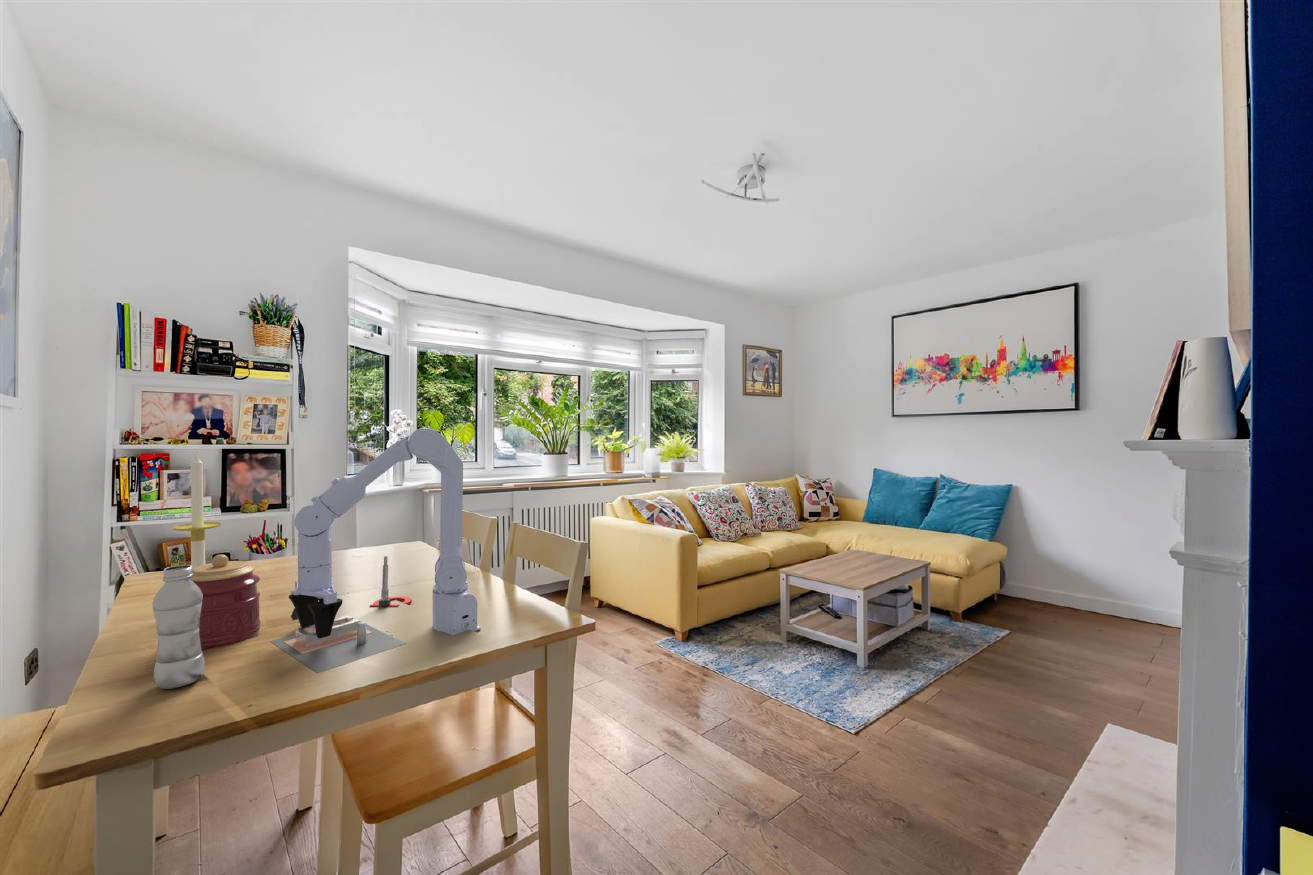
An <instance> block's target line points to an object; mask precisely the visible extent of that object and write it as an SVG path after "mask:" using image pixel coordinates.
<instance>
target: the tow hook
mask: <svg viewBox="0 0 1313 875" xmlns="http://www.w3.org/2000/svg"><path fill="white" fill-rule="evenodd" d="M388 560H389V559H388V556H387V555H385V556H383V565H382V580H381V581H382V584H381V586H382V588H381V591H380V592H381V594H380V596H381V597H380V598H379V599H377V600H375V601H374V602H373V603H372V604H369V608H379V609H380V608H386V609H387V608H399V607H400V604H391V602H393V601H397V602H401V603H402V604H405V605H408V606H409V605H411V604H412V602H413V601H412V600H413V599H412V598H411V597H408V596H391V597H389V590H390V589H389V587H388V586H389V564H388Z"/></svg>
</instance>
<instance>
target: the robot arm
mask: <svg viewBox="0 0 1313 875" xmlns="http://www.w3.org/2000/svg"><path fill="white" fill-rule="evenodd" d="M414 456H415V457H416V458H419V459H421V460H423V461H426V462H428V463H429V464H430V465H431V466H433V467H434V468H435V469H436V470H438V471H439V472H440V511H439V512H440V516H439V517H440V518H439V519H440V522H439V523H440V526H439V557H438V559H436V560H437V561H436V562H435V565H434V572H435V573H434V582H435V584H434V585H433V587H432V629H433V630H435V631H437V632H443V633H446V634H448V635H451V636H456V635H458V634H461V633H464V632H466V631H472V632H476V631H480V630H481V629H482V627H481V626H480V625H479V624H478V600H477V598H476V597H475V595H474V594H472V593H471V592H470V590H469V582H467V579H468V574H467V570H466V563H465V560H464V558H463V505H464V504H463V502H464V501H463V498H464V497H463V496H464V495H463V494H464V489H463V488H464V464H463V460H462V459H461V457H460V456H459V455H458V453H457V452H456V451H455V449H454V448H453V447H452V445H451V444H450V442H449V441H448V440H447V438H446V437H445V436H444V435H442V434H441V433H439V431H437V430H436V429H434V428H432V427H421V428H418V429H415V430H414V431H413V432H412V433H411V434H410V435H406V436H405V437H404V438H402V439H400V440H398V441H397V442H395V443H393V444H391V445H390V446H388V447H387V448H386V449H385V450H384V451H383V452H381V453H380V454H379V455H378V456H377V457H375V459H373V460H372V461H371V462H370V463H368V464H367V465H366V466H365V467H364V468H363V469H361V470H360V471H359V472H358V473H357V474H355V475H342V477H341V478H338V477H336V478H335V479H333V480H332V481H330V483H331V486H329V487H328V488H327V489H326V490H324V491H323V492H322V493H321V494H319V496H317V495H314V496H313V497H312V498H311V499H310V501H311V502H312V503H310V504H308V505H306V506H303V507H301V509H300V510H299V511H298V512H297V513H296V515H295V517H294V526H295V529H296V530H297V531H298V532H297V533H298V534H297V539H298V542H297V579H296V580H294V589H291V590H290V594H289V595H288V598H289V601H291V603H292V605H293V607H294V608H295V609H296V612H297V615H298V619H297V620H298V623H299V625H300V626H299V627H300V628H303V627H307V626H311V625H314V624H315V630H316V635H317V638H319V639H320V638H323V637H327V636H330V634H331V631H332V627H333V623H334V619H336V616H337V614H338V611H339V610H340V608H341V606H342V605H343V602H344V601H343V599H342V598H340V597H339V598H338V592H337V591H335V587H334V586H335V585H334V582H333V567H332V566H333V560H332V558H333V557H332V556H333V555H332V552H333V550H332V549H333V548H332V547H333V546H332V544H333V542H332V541H333V540H332V538H331V536H332V535H331V530H332V528H331V527H330V526H332V524H333V523H334V521H335V519H339V518H341V517H342V516H343V515H345V514H346V513H348V511H349V510H351V509H352V508H353V507H354V506H355V505H356V504H358V503H360V501H362V500H363V499H364V498H365V497H366V490H367V487H368V486H369V485H370V484H371V483H373V482H374V481H375V480H377V479H378V478H380V477H381V476H382V475H384V473H386V472H387V471H389V469H391V468H392V467H393V466H395V465H396V464H398V463H401V462H404V461H405V462H406V461H411V460H413V458H414Z"/></svg>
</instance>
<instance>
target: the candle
mask: <svg viewBox="0 0 1313 875" xmlns="http://www.w3.org/2000/svg"><path fill="white" fill-rule="evenodd" d="M203 465H204V462H203V461H201V459H200V456H199V454H198V451H196V454H195V455H194V458H193V460H192V461H191V462H190V488H191V490H190V491H191V492H190V494H191V495H190V498H191V499H190V500H191V504H190V505H191V508H190V509H191V523H183V524H179V525H176V526H173V530H174V531H178V532H179V531H181V532H182V531H183V532H184V531H185V532H186V531H187V532H189V531H190V565H192V570H193V569H194V568H196V567H198V566H202V565H206V541H205V540H206V530H208V529H210V530H211V529H214V528H217V527H218V528H219V527H220V526H221V525H222V523H221V522H218V521H204V518H205V517H204V466H203Z"/></svg>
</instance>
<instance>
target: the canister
mask: <svg viewBox="0 0 1313 875" xmlns="http://www.w3.org/2000/svg"><path fill="white" fill-rule="evenodd" d="M255 569H256V567H255V566H254V565H252V564H249V563H247V562H245V561H243V560H242V561H241V560H229V557H228V556H227V555H225V554H216V555H215V556H214V557H213V558H212V560H211V563H205V565H202V566H198V567H196V568H194V569H193V570H192V573H193V577H191V580H192V581H193V582H194V583H195V584H196V585H197V586H198V587H199V588H200V589H201V591H202V594H203V600H202V607H201V613H200V626H199V635H200V643H201V651H202V652H204V651H207V650H211V649H215V648H219V647H225V646H229V645H232V644H236V643H238V642H242V641H246V640H249V639H254V638H257V637H258V636H259V634H260V630H261V626H262V625H261V622H262V621H261V620H260V597H261V593H260V591H258V583H259V582H260V581H261V577H260V576H259V575H258V574H255V573H254V571H255Z"/></svg>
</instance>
